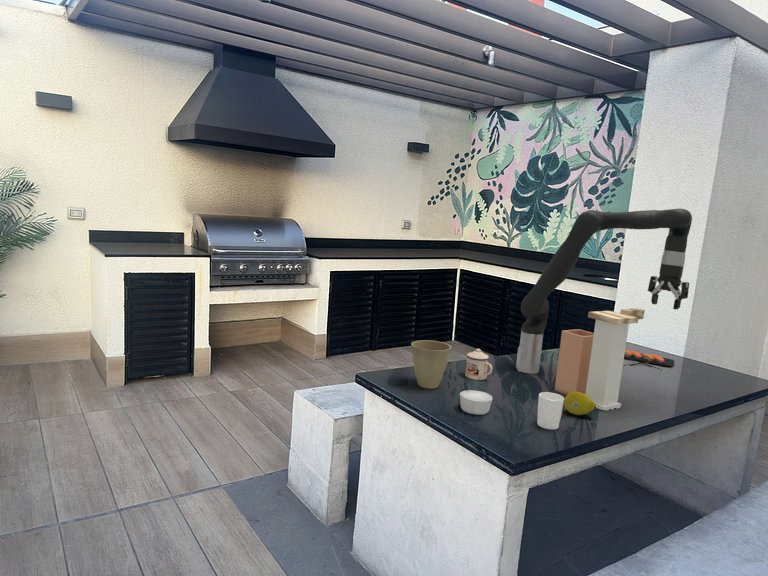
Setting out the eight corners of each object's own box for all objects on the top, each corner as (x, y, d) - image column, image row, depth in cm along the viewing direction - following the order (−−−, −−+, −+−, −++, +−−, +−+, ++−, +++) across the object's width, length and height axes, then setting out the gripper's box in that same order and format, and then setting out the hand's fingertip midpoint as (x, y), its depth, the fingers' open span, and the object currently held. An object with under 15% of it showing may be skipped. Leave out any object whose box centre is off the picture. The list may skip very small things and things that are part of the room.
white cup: (543, 431, 177) (547, 401, 175) (530, 421, 184) (534, 392, 183) (565, 430, 179) (569, 400, 178) (551, 420, 187) (555, 391, 185)
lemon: (557, 411, 196) (560, 389, 194) (569, 407, 201) (572, 386, 199) (585, 422, 187) (588, 399, 186) (597, 417, 192) (600, 395, 191)
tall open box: (571, 387, 224) (579, 329, 220) (592, 395, 216) (600, 335, 212) (554, 390, 219) (562, 330, 215) (574, 398, 211) (583, 336, 207)
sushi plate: (674, 363, 277) (675, 356, 277) (668, 377, 252) (669, 369, 251) (612, 351, 292) (613, 344, 292) (601, 363, 267) (602, 355, 266)
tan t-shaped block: (625, 314, 215) (626, 305, 214) (654, 321, 205) (655, 312, 204) (587, 317, 203) (589, 307, 203) (616, 324, 193) (617, 314, 192)
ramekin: (468, 401, 199) (470, 387, 198) (497, 410, 192) (498, 396, 191) (452, 409, 190) (453, 394, 189) (480, 419, 183) (482, 403, 182)
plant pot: (436, 378, 222) (440, 339, 220) (453, 391, 208) (457, 350, 206) (402, 380, 217) (405, 340, 214) (417, 393, 203) (421, 350, 201)
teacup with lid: (459, 375, 228) (462, 348, 227) (473, 372, 235) (476, 345, 233) (483, 383, 220) (486, 355, 218) (497, 380, 226) (500, 352, 224)
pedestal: (597, 398, 213) (609, 316, 208) (620, 407, 205) (633, 322, 200) (580, 401, 208) (591, 317, 203) (603, 411, 199) (615, 323, 194)
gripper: (648, 260, 208) (641, 302, 211) (685, 266, 196) (677, 311, 199) (660, 260, 212) (653, 302, 215) (697, 266, 200) (689, 310, 203)
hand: (664, 306), depth 207 cm, fingers open, 8 cm apart
